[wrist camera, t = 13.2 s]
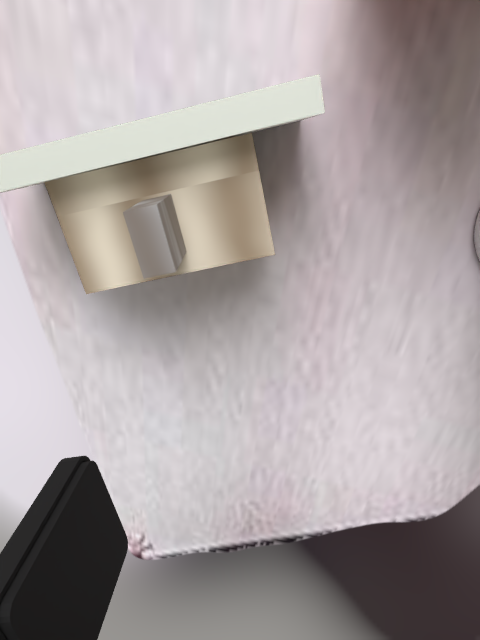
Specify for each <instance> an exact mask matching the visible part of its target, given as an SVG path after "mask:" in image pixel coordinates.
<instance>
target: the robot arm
mask: <svg viewBox="0 0 480 640" xmlns="http://www.w3.org/2000/svg"><path fill="white" fill-rule="evenodd" d="M474 242H475V248H476V254H477V256H478V258H479V261H480V211H479V213H478V216H477V220H476V225H475V235H474ZM127 549H128V540H127V536H126V533H125V531H124V529H123V526H122V524H121V521H120V519H119V517H118V514H117V512H116V509H115V507H114V505H113V502H112V500H111V497H110V495H109V493H108V490H107V488H106V485H105V483H104V481H103V478H102V476H101V473H100V471H99V469H98V466H97V464H96V462H94V461H90V459H89V458H88V457H87V456H79V457H72V458H65V459H62V460H61V461H60V462H59V463H58V465H57V466H56V468H55V470H54V471H53V473H52V474H51V476H50V477H49V479H48V480H47V482H46V484H45V485H44V487H43V488H42V490H41V492H40V493H39V494H38V496H37V498H36V499H35V501H34V502H33V504H32V505H31V507H30V508H29V510H28V512H27V513H26V515H25V516H24V518H23V519H22V521H21V522H20V524H19V526H18V527H17V529H16V530H15V532H14V533H13V535H12V537H11V538H10V540H9V541H8V543H7V544H6V546H5V547H4V549H3V551H2V552H1V554H0V640H97V639H98V636H99V633H100V630H101V627H102V624H103V621H104V618H105V615H106V612H107V609H108V606H109V603H110V600H111V597H112V595H113V591H114V588H115V586H116V583H117V580H118V577H119V574H120V571H121V568H122V565H123V562H124V559H125V556H126V553H127Z"/></svg>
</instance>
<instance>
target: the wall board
mask: <svg viewBox="0 0 480 640" xmlns="http://www.w3.org/2000/svg"><path fill="white" fill-rule="evenodd" d="M323 113H325V110H324V102H323V95H322V87H321V80H320V74H318V75H314V76H310V77H306V78H302V79H298V80H294V81H290V82H286V83H282V84H278V85H274V86H270V87H267V88H263V89H259V90H255V91H251V92H247V93H243V94H239V95H235V96H231V97H227V98H223V99H219V100H215V101H211V102H207V103H203V104H199V105H195V106H191V107H187V108H183V109H180V110H176V111H172V112H168V113H164V114H160V115H156V116H152V117H148V118H144V119H140V120H136V121H132V122H128V123H124V124H120V125H116V126H112V127H108V128H104V129H100V130H96V131H93V132H89V133H85V134H81V135H77V136H73V137H69V138H65V139H61V140H57V141H53V142H49V143H45V144H41V145H37V146H33V147H29V148H25V149H21V150H17V151H13V152H10V153H6V154H2V155H0V193H2V192H6V191H11V190H15V189H20V188H24V187H29V186H33V185H37V184H42V183H44V182H47V181H51V180H56V179H60V178H64V177H68V176H72V175H77V174H81V173H85V172H89V171H93V170H97V169H101V168H105V167H109V166H113V165H117V164H122V163H126V162H130V161H134V160H138V159H142V158H146V157H150V156H154V155H158V154H163V153H167V152H171V151H175V150H179V149H183V148H187V147H191V146H195V145H199V144H204V143H208V142H212V141H216V140H220V139H224V138H228V137H232V136H239V135H243V134H247V133H251V132H255V131H260V130H264V129H268V128H272V127H276V126H280V125H284V124H288V123H292V122H296V121H301V120H304V119H307V118H310V117H313V116H316V115H320V114H323Z"/></svg>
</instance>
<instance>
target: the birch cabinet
mask: <svg viewBox="0 0 480 640" xmlns="http://www.w3.org/2000/svg"><path fill="white" fill-rule="evenodd" d="M44 183H45V186H46V188H47V191H48V194H49V196H50V199H51V202H52V204H53V207H54V210H55V212H56V215H57V218H58V220H59V223H60V226H61V228H62V231H63V233H64V236H65V239H66V241H67V244H68V247H69V249H70V252H71V255H72V257H73V260H74V263H75V265H76V268H77V271H78V273H79V276H80V279H81V281H82V284H83V287H84V289H85V292H86V294H89V293H94V292H99V291H104V290H108V289H113V288H118V287H123V286H127V285H132V284H137V283H142V282H147V281H151V280H156V279H161V278H166V277H170V276H175V275H180V274H185V273H190V272H194V271H199V270H204V269H209V268H213V267H218V266H223V265H228V264H233V263H237V262H242V261H247V260H252V259H256V258H261V257H266V256H271V255H275V252H274V246H273V241H272V236H271V231H270V225H269V220H268V215H267V210H266V205H265V199H264V194H263V189H262V184H261V178H260V173H259V168H258V163H257V157H256V152H255V147H254V142H253V136H252V133H249V134H245V135H241V136H237V137H232V138H228V139H224V140H220V141H215V142H211V143H207V144H203V145H199V146H194V147H190V148H186V149H182V150H178V151H173V152H169V153H165V154H161V155H157V156H152V157H148V158H144V159H140V160H135V161H131V162H127V163H123V164H119V165H114V166H110V167H106V168H102V169H98V170H93V171H89V172H85V173H81V174H77V175H72V176H68V177H64V178H60V179H56V180H51V181H47V182H44Z"/></svg>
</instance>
